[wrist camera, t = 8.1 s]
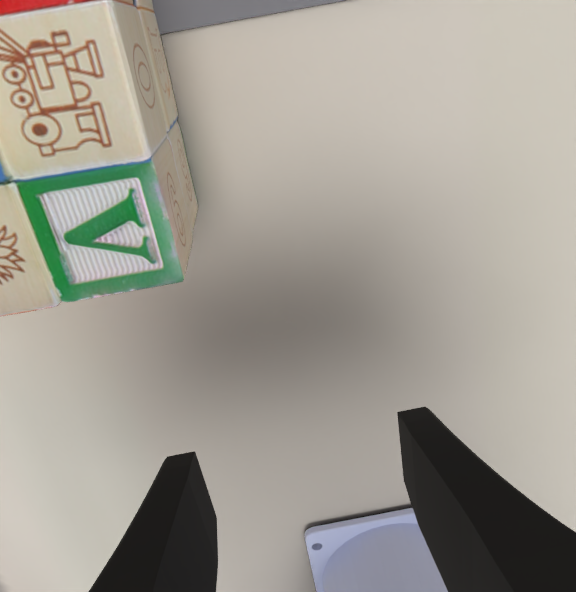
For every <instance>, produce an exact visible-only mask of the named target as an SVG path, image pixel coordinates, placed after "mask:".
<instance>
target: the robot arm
mask: <svg viewBox="0 0 576 592" xmlns="http://www.w3.org/2000/svg"><path fill="white" fill-rule="evenodd" d="M398 423H399V433H400V444H401V455H402V465H403V476H404V482H405V485H406V489H407V492H408V495H409V498H410V501H411V504H412V507H413V508H408V509H403V510H398V511H392V512H387V513H382V514H377V515H372V516H366V517H361V518H356V519H351V520H346V521H340V522H335V523H330V524H325V525H320V526H314V527H311V528H309V529H308V530H306V532H305V542H306V546H307V551H308V555H309V560H310V564H311V569H312V573H313V578H314V583H315V587H316V592H576V532H574V531H573V530H571V529H570V528H568V527H567V526H565V525H564V524H562V523H561V522H560V521H558V520H557V519H555V518H554V517H553V516H551V515H550V514H548V513H547V512H546V511H544V510H543V509H542V508H540V507H539V506H538V505H536V504H535V503H534V502H532V501H531V500H530V499H529V498H527V497H526V496H525V495H523V494H522V493H521V492H520V491H518V490H517V489H516V488H514V487H513V486H512V485H511V484H510V483H508V482H507V481H506V480H505V479H503V478H502V477H501V476H500V475H499V474H498V473H496V472H495V471H494V470H493V469H492V468H491V467H489V466H488V465H487V464H486V463H485V462H484V461H483V460H481V459H480V458H479V457H478V456H477V455H476V454H475V453H474V452H472V451H471V450H470V449H469V448H468V447H467V446H466V445H465V444H464V443H463V442H462V441H461V440H460V439H458V438H457V437H456V436H455V435H454V434H453V433H452V432H451V431H450V430H449V429H448V428H447V427H446V426H445V425H444V424H443V423H442V422H441V421H440V420H439V419H438V418H437V417H436V416H435V415H434V414H433V413H432V412H431V410H429V409H428V408H426V407H421V408H416V409H411V410H406V411H401V412H398ZM217 568H218V548H217V518H216V514H215V511H214V508H213V505H212V502H211V499H210V496H209V493H208V490H207V487H206V484H205V481H204V478H203V475H202V471H201V468H200V465H199V462H198V459H197V456H196V453H195V452H189V453H184V454H179V455H174V456H169V457H167V458H166V459H165V461H164V462H163V464H162V466H161V468H160V470H159V472H158V474H157V476H156V478H155V480H154V482H153V484H152V486H151V488H150V489H149V491H148V493H147V495H146V497H145V499H144V501H143V503H142V504H141V506H140V508H139V510H138V512H137V514H136V515H135V517H134V519H133V521H132V522H131V524H130V526H129V528H128V529H127V531H126V533H125V534H124V536H123V538H122V540H121V541H120V543H119V545H118V546H117V548H116V550H115V551H114V553H113V555H112V556H111V558H110V559H109V561H108V562H107V564H106V566H105V567H104V569H103V570H102V572H101V573H100V575H99V577H98V578H97V580H96V581H95V583H94V584H93V586H92V587H91V589H90V590H89V592H216V582H217Z"/></svg>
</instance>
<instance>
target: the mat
mask: <svg viewBox="0 0 576 592" xmlns="http://www.w3.org/2000/svg"><path fill="white" fill-rule="evenodd" d="M340 1H345V0H152V3H153V9H154V13H155V16H156V20H157V24H158V29H159V33H160V34H165V33H171V32H176V31H182V30H187V29H193V28H198V27H203V26H209V25H214V24H220V23H225V22H231V21H236V20H242V19H247V18H252V17H258V16H263V15H269V14H274V13H280V12H285V11H291V10H296V9H301V8H307V7H312V6H318V5H323V4H329V3H334V2H340Z"/></svg>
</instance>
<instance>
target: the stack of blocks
mask: <svg viewBox="0 0 576 592" xmlns="http://www.w3.org/2000/svg"><path fill="white" fill-rule="evenodd" d="M177 118H178V112H177V107H176V102H175V98H174V94H173V89H172V85H171V80H170V76H169V72H168V67H167V63H166V59H165V55H164V50H163V46H162V42H161V37H160V33H159V29H158V24H157V20H156V16H155V13H154V9H153V3H152V0H0V316H6V315H12V314H18V313H23V312H29V311H35V310H40V309H45V308H50V307H55V306H58V305H59V304H60V303H61V302H62V301H64V302H73V301H78V300H83V299H90V298H96V297H101V296H107V295H112V294H118V293H123V292H129V291H134V290H140V289H145V288H151V287H156V286H162V285H167V284H173V283H178V282H183V280H184V277H185V273H186V269H187V263H188V259H189V254H190V250H191V247H192V242H193V235H192V233H193V229H194V225H195V219H196V215H197V210H198V204H197V199H196V195H195V191H194V187H193V182H192V178H191V174H190V170H189V165H188V161H187V157H186V152H185V147H184V143H183V138H182V134H181V130H180V127H179V124H178V122H177Z"/></svg>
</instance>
